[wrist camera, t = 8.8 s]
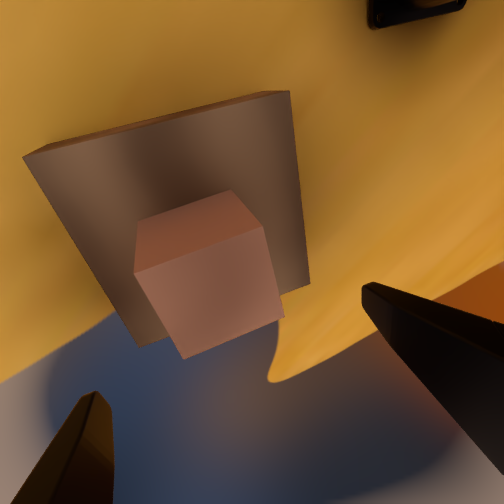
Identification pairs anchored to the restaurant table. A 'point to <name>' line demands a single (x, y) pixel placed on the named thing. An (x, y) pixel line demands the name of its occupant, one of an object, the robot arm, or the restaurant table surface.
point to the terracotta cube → (207, 272)
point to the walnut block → (176, 189)
